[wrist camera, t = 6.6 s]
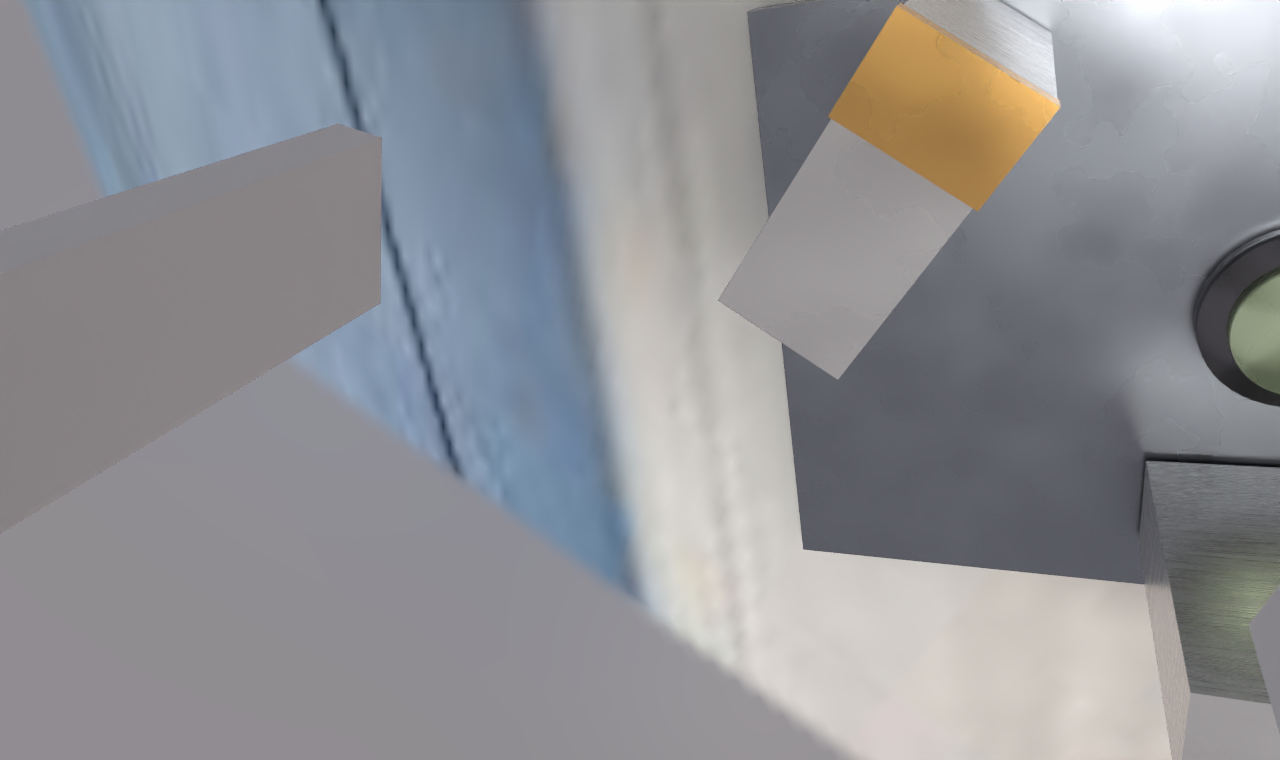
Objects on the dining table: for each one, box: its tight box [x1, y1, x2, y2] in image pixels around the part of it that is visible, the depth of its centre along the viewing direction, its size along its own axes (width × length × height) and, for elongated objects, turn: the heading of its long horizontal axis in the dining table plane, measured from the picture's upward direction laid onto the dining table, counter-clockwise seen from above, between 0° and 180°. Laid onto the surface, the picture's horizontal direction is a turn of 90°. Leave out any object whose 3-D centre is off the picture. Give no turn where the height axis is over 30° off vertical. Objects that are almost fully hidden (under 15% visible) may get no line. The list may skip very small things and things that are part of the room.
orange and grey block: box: [718, 0, 1060, 380], centre depth 21 cm, size 3×7×10 cm, turn 152°
